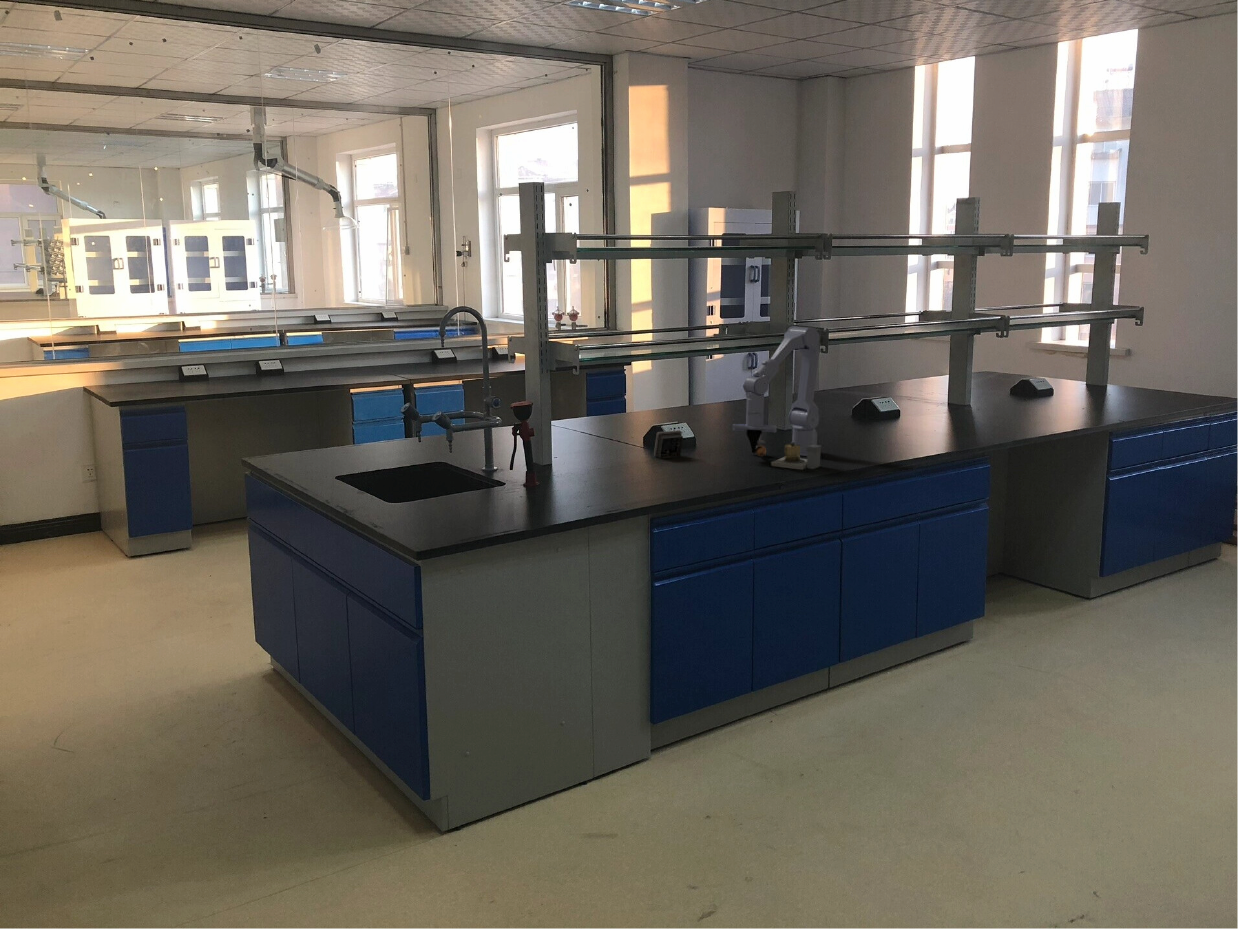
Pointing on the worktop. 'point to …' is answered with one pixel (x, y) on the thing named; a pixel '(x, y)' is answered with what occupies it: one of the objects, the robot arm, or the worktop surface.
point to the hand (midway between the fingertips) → (753, 452)
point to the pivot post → (759, 444)
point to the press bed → (802, 460)
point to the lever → (760, 450)
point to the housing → (792, 452)
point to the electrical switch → (668, 444)
